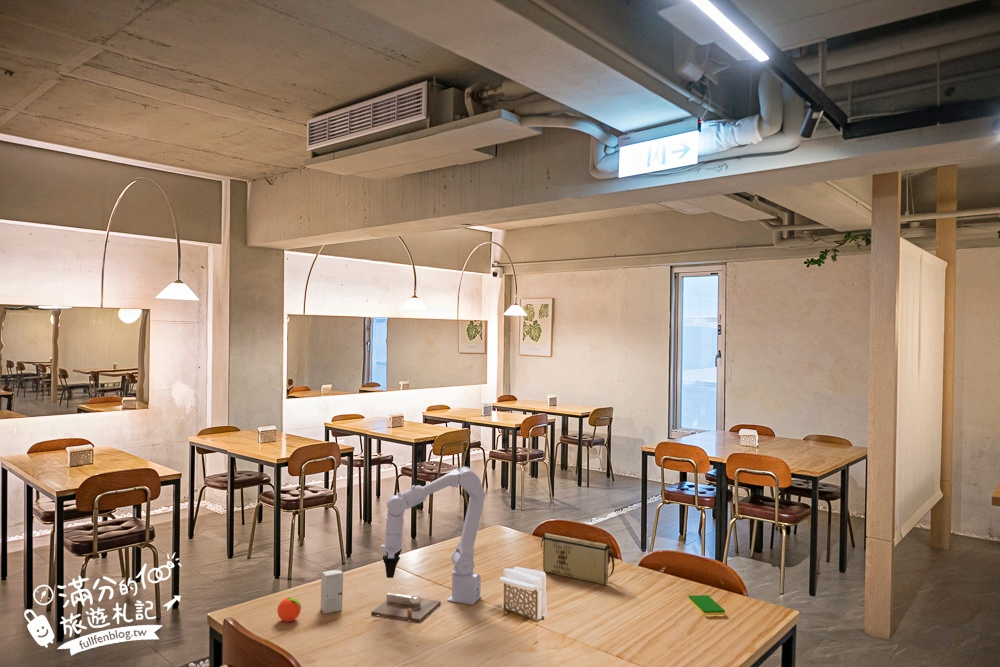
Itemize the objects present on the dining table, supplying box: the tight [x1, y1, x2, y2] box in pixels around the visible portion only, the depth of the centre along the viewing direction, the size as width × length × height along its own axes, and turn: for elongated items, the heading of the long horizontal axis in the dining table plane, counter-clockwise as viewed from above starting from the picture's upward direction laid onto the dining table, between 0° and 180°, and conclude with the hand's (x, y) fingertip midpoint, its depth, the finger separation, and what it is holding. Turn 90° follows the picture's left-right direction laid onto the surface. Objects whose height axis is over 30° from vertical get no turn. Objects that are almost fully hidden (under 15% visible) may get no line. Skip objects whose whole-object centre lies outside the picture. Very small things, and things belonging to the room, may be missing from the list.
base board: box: [370, 597, 441, 623], centre depth 217 cm, size 17×16×3 cm
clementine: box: [277, 596, 302, 622], centre depth 206 cm, size 8×7×7 cm
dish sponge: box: [688, 594, 726, 616], centre depth 222 cm, size 7×14×2 cm, turn 5°
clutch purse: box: [540, 532, 615, 586], centre depth 251 cm, size 30×7×15 cm, turn 58°
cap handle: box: [386, 592, 422, 607], centre depth 218 cm, size 12×4×2 cm, turn 72°
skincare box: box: [319, 569, 344, 614], centre depth 215 cm, size 6×4×12 cm
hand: (391, 573), depth 222 cm, fingers open, 7 cm apart
